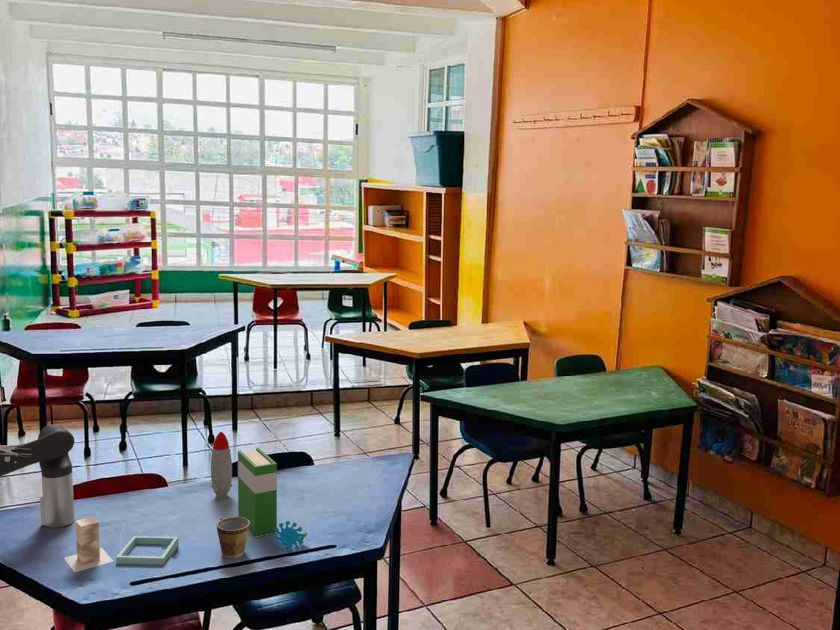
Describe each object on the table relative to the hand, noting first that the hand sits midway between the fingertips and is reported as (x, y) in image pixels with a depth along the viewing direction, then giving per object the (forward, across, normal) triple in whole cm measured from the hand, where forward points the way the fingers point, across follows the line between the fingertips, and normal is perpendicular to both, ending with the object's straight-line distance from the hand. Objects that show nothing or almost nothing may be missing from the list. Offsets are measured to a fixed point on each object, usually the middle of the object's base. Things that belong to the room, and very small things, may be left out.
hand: (31, 455), depth 210 cm
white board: (+21, -2, -31) cm, 38 cm away
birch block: (+21, -2, -30) cm, 36 cm away
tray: (+37, +1, -28) cm, 47 cm away
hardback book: (+73, -6, -19) cm, 76 cm away
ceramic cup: (+60, +9, -24) cm, 65 cm away
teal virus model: (+77, +14, -21) cm, 81 cm away
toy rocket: (+68, -35, -17) cm, 78 cm away
